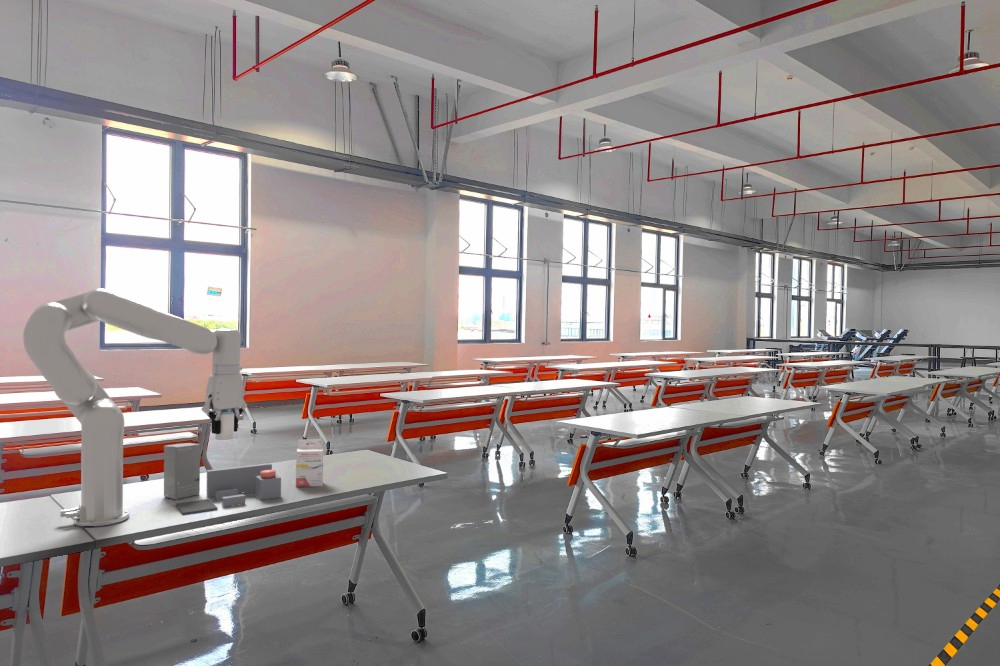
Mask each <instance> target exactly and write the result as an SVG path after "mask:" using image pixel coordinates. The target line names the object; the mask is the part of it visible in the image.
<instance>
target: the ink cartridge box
mask: <svg viewBox="0 0 1000 666" xmlns="http://www.w3.org/2000/svg"><path fill="white" fill-rule="evenodd" d="M297 440H298V441H297V449H296V464H295V465H296V467H295V468H296V469H295V471H296V472H295V487H296V488H298V487H299V488H301V487H302V486H305V487H323V483H324V482H323V481H324V448H323V447H324V444H323V443H324V440H323V439H321V438H316V439H307V438H306V439H297ZM309 443H312V444H309Z"/></svg>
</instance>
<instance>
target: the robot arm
mask: <svg viewBox="0 0 1000 666" xmlns="http://www.w3.org/2000/svg"><path fill="white" fill-rule="evenodd" d="M97 322H102V323H104V324H107V325H110V326H112V327H114V328H119V329H121V330H124V331H126V332H130V333H132V334H135V335H138V336H141V337H144V338H147V339H151V340H157V341H161V342H164V343H167V344H170V345H172V346H173V345H174V346H176V347H179V348H181V349H184V350H187V351H188V352H190V353H193V354H197V355H208V354H210V353H212V360H211V361H212V363H211V370H212V371H211V375H209V377H208V379H207V383H206V390H205V400H204V405H203V406H202V407H201V411H202V412H203V413H204V414H205V415H206V416H208V418H209V420H211V434H214V435H215V434H220V433H221V420H219V417H220V414H221V410H226V409H227V410H231V411H233V413H234V433H236V432H238V426H239V425H238V421H239V420H238V419H240V416H241V414H242V413H243V411H244V410H245V409H247V407H248V403H247V402H246V400H245V399H244V383H243V377H242V375H241V371H243V366H241V342H242V341H241V332H240V331H239V329H236V328H235V329H234V328H217V329H212V328H211V329H210V328H207V327H205V326H202V325H199V324H197V323H195V322H192V321H190V320H187V319H185V318H182V317H179V316H176V315H173V314H171V313H168V312H167V311H164V310H162V309H160V308H157V307H154V306H151V305H149V304H146V303H143V302H141V301H138V300H136V299H133V298H131V297H128V296H125V295H122V294H120V293H117V292H115V291H112V290H109V289H107V288H94V289H91V290H89V291H85V292H83V293H80V294H78V295H73V296H70V297H66V298H64V299H63V298H62V299H59V300H55V301H52V302H45V303H42V304H40V305H39V306H37V307H36V308H35V309H34V311H33V312H32V313H31V314H30V316H29V318H28V319H27V321H26V324H25V326H24V329H23V337H22V340H23V346H24V349H25V352H26V354H27V356H28V358H29V359H30V360H31V362H32V363H33V365H34V366H35V367H36V369H37V370H38V371H39V372H40V375H42V377H43V378H44V379H45V380H46V382H47V383H48V384H49V385H50V387H51V389H52V390H53V391H54V394H55V395H56V396H57V397H58V399H59V400H60V401H62V402H63V404H64V405H65V406H66V408H67V409H68V410H69V411H70V412H71V413H72V415H73V416H74V417H75V419H76V420H77V421H78V422H79V423H80V427H81V446H80V449H81V451H80V452H81V453H80V455H81V456H80V465H81V468H80V471H81V474H80V476H81V477H80V478H81V479H80V482H81V483H80V484H81V487H80V489H81V490H80V495H81V496H80V499H81V500H80V503H78V506H74V508H70V509H69V508H65V509H60V512H59V514H60V515H59V517H60V518H65V519H68V518H69V519H70V518H74V520H73V524H74V525H75V526H78V527H84V526H94V527H103V526H108V525H115V524H118V523H121V522H123V521H125V520H128V518H130V512H129V510H126V509H123V508H124V505H123V504H124V501H123V500H124V477H123V476H124V465H123V464H124V435H125V417H124V413H123V412H122V409H121V408H120V407H119V406H118V405H117V404H116V403H115V402H114V400H113V399H112V398H111V397H110V396H109V394H108V393H107V392H106V391H105V389H104V388H103V387H102V385H101V384H100V383H99V382H98V380H97V379H96V378H95V376H94V374H93V373H91V372H90V371H89V370H88V369H87V368H86V367H85V366H84V365H83V364H82V363H81V362H80V360H79V359H78V357H77V356H76V354H74V351H72V349H71V348H70V347H69V344H67V342H66V339H65V333H66V332H69V331H72V330H74V329H75V330H76V329H78V328H82V327H84V326H88V325H90V324H95V323H97Z"/></svg>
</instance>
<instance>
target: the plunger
mask: <svg viewBox="0 0 1000 666" xmlns="http://www.w3.org/2000/svg"><path fill="white" fill-rule="evenodd" d="M276 472H277V471H276V470H274V469H272V470H264V471H261V478H263V479H267V478H273V477H275V476H276V475H277V473H276Z"/></svg>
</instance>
